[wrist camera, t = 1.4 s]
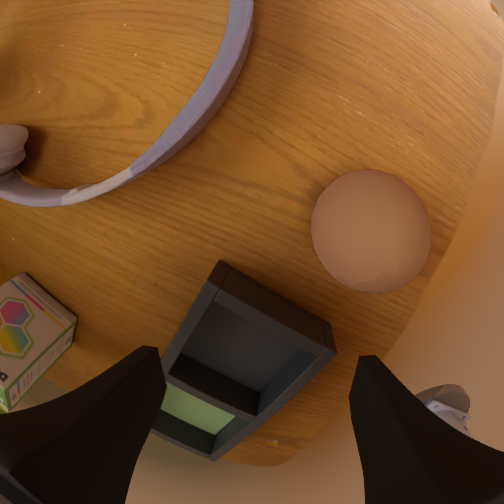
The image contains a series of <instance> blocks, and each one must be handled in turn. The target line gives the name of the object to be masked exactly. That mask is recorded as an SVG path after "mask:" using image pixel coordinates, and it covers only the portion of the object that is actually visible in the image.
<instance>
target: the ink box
mask: <svg viewBox="0 0 504 504" xmlns="http://www.w3.org/2000/svg"><path fill="white" fill-rule="evenodd" d="M76 322H77V317H76V316H75V315H74V314H72V313H71V312H70V311H68V310H67V309H66V308H65V307H63V306H62V305H61V304H60V303H58V302H57V301H56V300H55V299H54V298H52V297H51V296H50V295H49V294H48V293H46V292H45V291H44V290H43V289H42V288H41V287H40V286H39V285H37V284H36V283H35V282H34V281H33V280H32V279H31V278H30V277H29V276H28V275H27V274H26V273H24V272H23V273H21V274H19V275H18V276H16V277H14V278H13V279H11V280H9V281H8V282H6V283H4V284H3V285H1V286H0V414H5V413H10V412H11V411H12V410H13V409H14V408H15V406H16V405H17V404H18V403H19V402H20V401H21V400H22V398H23V397H24V396H25V395H26V394H27V393H28V392H29V390H30V389H31V388H32V387H33V386H34V385H35V384H36V383H37V382H38V381H39V380H40V378H41V377H42V376H43V375H44V374H45V373H46V372H47V371H48V370H49V369H50V368H51V367H52V366H53V365H54V364H55V362H56V361H57V360H58V359H59V358H60V357H61V356H62V355H63V354H64V353H65V352H66V351H67V350H68V349H69V348H70V347H71V346H72V340H73V334H74V329H75V326H76Z"/></svg>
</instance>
